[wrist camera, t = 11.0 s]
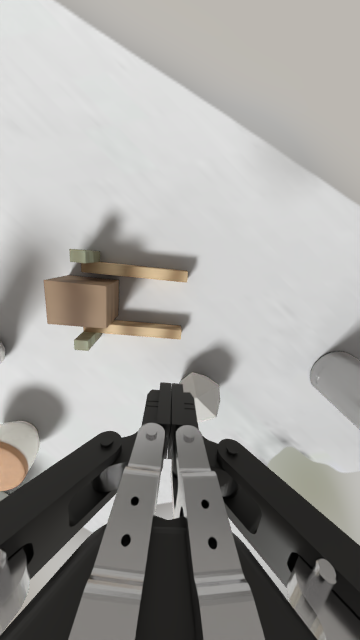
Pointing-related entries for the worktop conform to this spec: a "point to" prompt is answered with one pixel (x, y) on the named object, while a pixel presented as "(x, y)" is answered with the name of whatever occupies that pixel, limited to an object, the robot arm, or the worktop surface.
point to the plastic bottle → (2, 352)
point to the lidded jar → (16, 452)
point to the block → (81, 301)
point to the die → (203, 395)
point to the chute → (91, 334)
